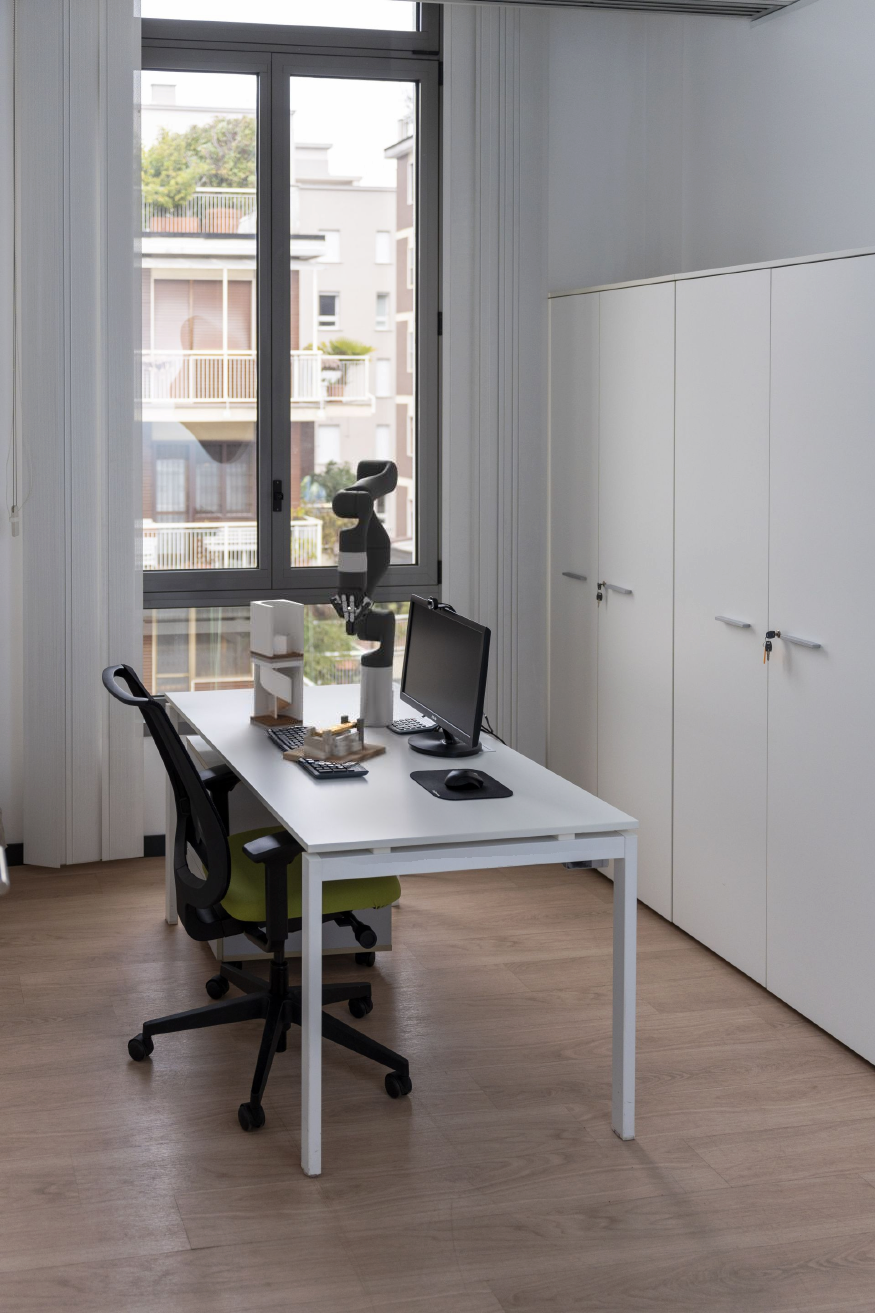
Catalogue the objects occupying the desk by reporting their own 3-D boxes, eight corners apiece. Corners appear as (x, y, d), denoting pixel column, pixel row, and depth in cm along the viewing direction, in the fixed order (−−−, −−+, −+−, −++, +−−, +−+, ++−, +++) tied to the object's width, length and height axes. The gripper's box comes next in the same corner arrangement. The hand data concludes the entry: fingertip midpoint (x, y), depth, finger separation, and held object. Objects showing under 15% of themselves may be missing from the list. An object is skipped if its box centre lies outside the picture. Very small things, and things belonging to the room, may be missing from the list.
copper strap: (349, 726, 352) (349, 720, 351) (358, 727, 350) (358, 721, 350) (314, 736, 338) (315, 730, 338) (324, 738, 337) (324, 732, 336)
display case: (250, 723, 378) (250, 601, 372) (282, 719, 384) (283, 599, 378) (269, 731, 369) (270, 606, 363) (302, 727, 375) (303, 604, 369)
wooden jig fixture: (329, 742, 358) (329, 711, 356) (385, 752, 349) (386, 720, 348) (282, 758, 340) (283, 725, 338) (341, 769, 331) (341, 735, 330)
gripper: (381, 569, 342) (380, 635, 345) (339, 565, 348) (338, 630, 351) (366, 572, 336) (365, 639, 339) (322, 568, 342) (322, 634, 345)
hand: (351, 635), depth 345 cm, fingers closed
